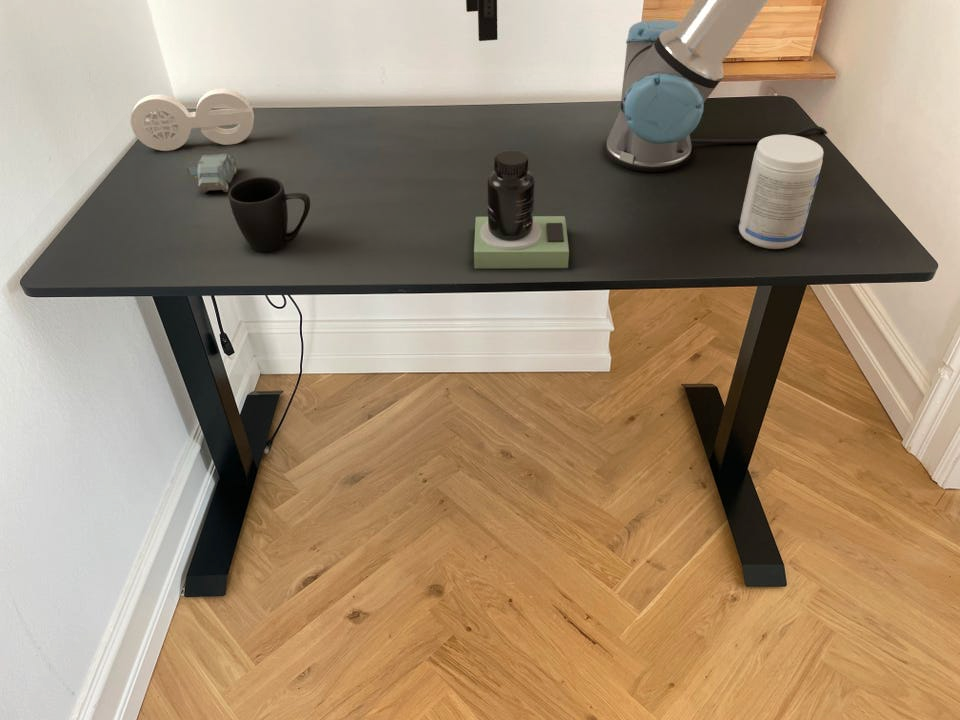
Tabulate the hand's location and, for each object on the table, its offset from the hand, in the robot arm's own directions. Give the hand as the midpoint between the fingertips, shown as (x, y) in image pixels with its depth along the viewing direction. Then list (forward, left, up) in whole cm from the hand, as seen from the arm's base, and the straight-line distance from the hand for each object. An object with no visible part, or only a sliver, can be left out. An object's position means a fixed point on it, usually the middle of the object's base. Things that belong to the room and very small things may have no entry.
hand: (481, 24), depth 120 cm
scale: (-6, +22, -27) cm, 35 cm away
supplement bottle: (-4, +22, -23) cm, 32 cm away
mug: (+32, +20, -27) cm, 46 cm away
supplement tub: (-45, +18, -27) cm, 55 cm away
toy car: (+48, 0, -27) cm, 55 cm away
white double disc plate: (+55, -15, -27) cm, 63 cm away
